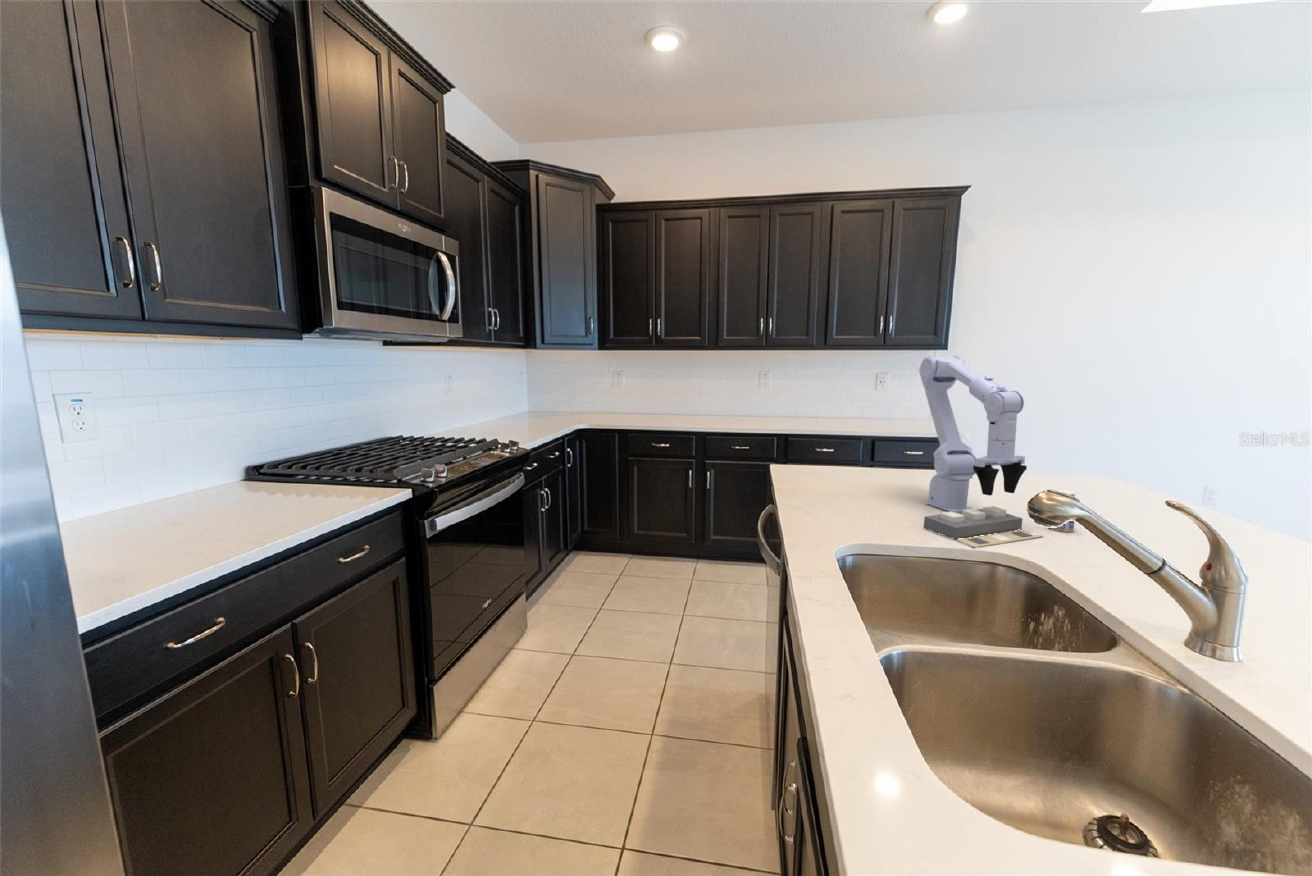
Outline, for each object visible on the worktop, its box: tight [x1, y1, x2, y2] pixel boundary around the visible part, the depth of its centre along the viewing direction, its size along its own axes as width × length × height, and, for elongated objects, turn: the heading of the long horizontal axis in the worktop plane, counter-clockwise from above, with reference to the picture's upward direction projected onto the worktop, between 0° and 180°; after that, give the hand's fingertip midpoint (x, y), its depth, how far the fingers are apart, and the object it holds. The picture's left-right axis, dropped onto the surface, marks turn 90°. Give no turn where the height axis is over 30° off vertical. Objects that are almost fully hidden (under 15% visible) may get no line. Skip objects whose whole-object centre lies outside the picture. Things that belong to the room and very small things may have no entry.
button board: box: [923, 508, 1024, 540], centre depth 131 cm, size 9×22×3 cm, turn 109°
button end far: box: [982, 506, 1007, 518], centre depth 133 cm, size 4×4×3 cm
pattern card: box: [956, 529, 1044, 548], centre depth 124 cm, size 5×22×1 cm, turn 109°
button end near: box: [940, 511, 965, 524], centre depth 128 cm, size 4×4×3 cm
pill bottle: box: [1050, 489, 1076, 533], centre depth 131 cm, size 5×5×10 cm
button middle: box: [962, 508, 986, 521], centre depth 131 cm, size 4×4×3 cm
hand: (998, 493), depth 132 cm, fingers open, 7 cm apart
